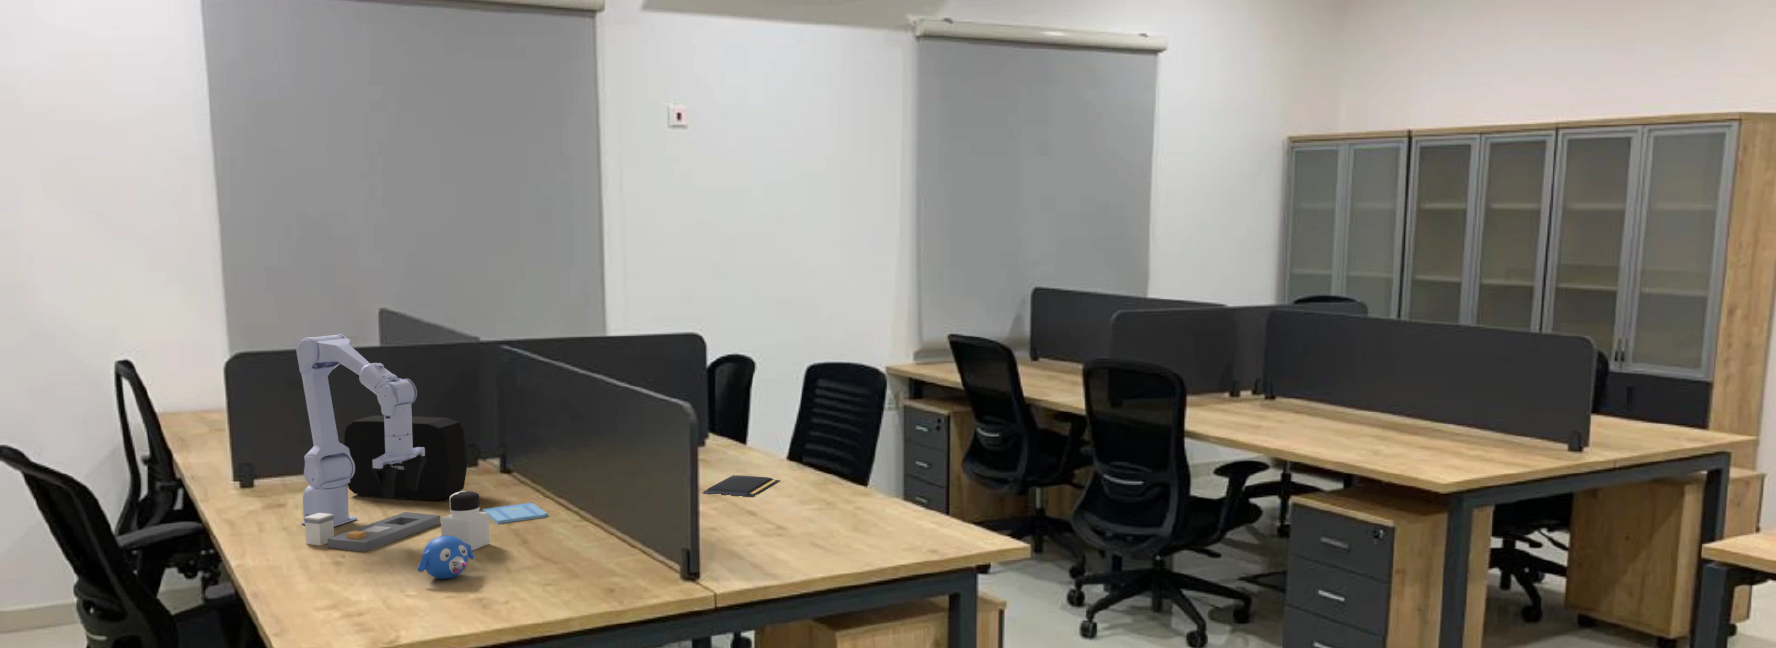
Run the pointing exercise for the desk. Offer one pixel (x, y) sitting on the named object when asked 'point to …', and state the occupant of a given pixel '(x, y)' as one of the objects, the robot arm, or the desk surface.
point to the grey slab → (383, 531)
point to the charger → (319, 528)
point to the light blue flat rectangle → (515, 513)
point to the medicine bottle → (466, 520)
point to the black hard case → (368, 443)
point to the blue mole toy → (445, 557)
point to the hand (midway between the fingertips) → (400, 493)
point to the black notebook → (742, 486)
